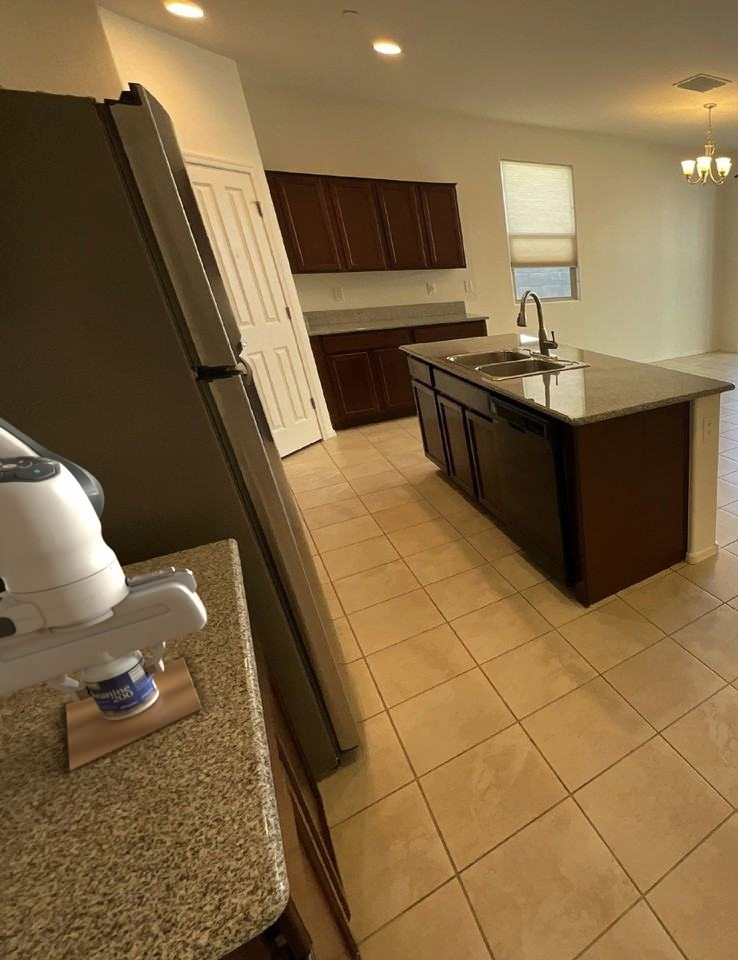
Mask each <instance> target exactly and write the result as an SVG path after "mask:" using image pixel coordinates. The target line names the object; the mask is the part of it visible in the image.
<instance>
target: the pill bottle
mask: <svg viewBox="0 0 738 960" xmlns="http://www.w3.org/2000/svg"><path fill="white" fill-rule="evenodd" d="M94 658H95V663H94V665H93V666H90V667H87V668H84V669H81V671H80V672H81V673H80V675H81V678H82V681H84V682H85V684H86V685H87V687H88V689H89V691H90V693H91V695H92V696H93V698H94V700H95V702H96V704H97V705H98V707H99V709H100V711H101V713H102V714H103V716H104V717H105V718H106V719H108V720H121V719H125V718H128V717H131V716H134V715H136V714H138V713H140V712H142V711H143V710H145V709H146V708H148V707H149V706H150V705H152V704H153V703H154V702H155V700H156V699H157V697H158V694H159V692H158V689H157V687H156V684H155V682H154V680H153V678H152V676H148V675H147V671H146V670H145V668H144V664H145V659H144V657H143V655H142V653H141V651H140V650H138V651H135V652H132V653H129V654H126V655H123V656H120V657H117V658H113V657H111V656H109V654H108V653H107V652H104V653H100V654H97V655H95V656H94Z"/></svg>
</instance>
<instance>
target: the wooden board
mask: <svg viewBox="0 0 738 960" xmlns="http://www.w3.org/2000/svg"><path fill="white" fill-rule="evenodd" d="M152 678H153V680H154V682H155V684H156V687H157V689H158V692H159V694H158V697H157V699H156V700H155V702H154V703H153V704H152V705H150V706H149V707H148V708H146V709H145V710H143V711H142V712H140V713H138V714H136V715H134V716H131V717H128V718H125V719H121V720H108V719H106V718H105V717H104V716H103V714H102V713H101V711H100V709H99V707H98V705H97V704H96V702H95V700H94V698H93V696H92V697H90V698H87V699H85V700H82V701H79V702H76V703H75V702H74V701H72V702H69V703H68V704H66V705H65V712H66V713H65V714H66V729H67V731H66V733H67V749H68V763H69V765H68V766H69V772H71V771H74V770H76V769H78V768H81V767H82V766H84V765H86V764H89V763H91V762H92V761H95V760H97V759H99V758H102V757H103V756H105V755H107V754H110V753H112V752H114V751H116V750H118V749H121V748H123V747H125V746H127V745H129V744H132V743H133V742H135V741H138V740H140V739H142V738H144V737H146V736H148V735H150V734H152V733H154V732H155V733H156V731H159V730H160V729H163V728H165V727H168V726H169V725H170V726H171V725H172V724H174V723H176V722H178V721H181V720H182V719H185V718H186V717H188V716H191V715H193V714H195V713H197V712H199V711H201V710H203V707H202V705H201V702H200V699H199V696H198V694H197V691H196V688H195V685H194V682H193V680H192V677H191V675H190V672H189V670H188V666H187V663H186V660H185V658H184V657H180V658H178V659H175V660H173V661H170V662H168V663H165V664H164V671H163V672H161V673H158V674H155V675H152Z"/></svg>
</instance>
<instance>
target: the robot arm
mask: <svg viewBox="0 0 738 960" xmlns="http://www.w3.org/2000/svg"><path fill="white" fill-rule="evenodd" d="M104 505H105V494H104V490H103V487H102V485H101V483H100V482H99V481H98V479H96V477H94V475H92V474H91V472H89V471H88V470H86V469H84V468H83V467H81V466H80V465H78V464H76V463H74V462H72V461H70V460H68V459H67V458H65V457H62V456H61V455H58V454H56V453H55V452H52V451H51V450H49V449H48V448H45V447H44V446H43V445H41V444H39V443H38V442H36V441H35V440H34V439H32V438H31V437H29V436H28V435H26V434H25V433H23V432H22V431H20V430H19V429H18V428H16V427H14V426H13V425H12V424H10V423H9V422H8V421H6V420H4V419H3V418H1V417H0V578H1V579H2V581H3V584H4V589H5V590H4V591H2V592H0V697H1V696H5V695H8V694H11V693H14V692H16V691H20V690H23V689H27V688H29V687H32V686H35V685H38V684H41V683H44V682H46V684H47V686H48V687H49V688H51V689H53V690H57V691H59V692H62V693H65V694H69V696H70V697H71V699H72V702H75V703H76V702H79V701H82V700H85V699H87V698H90V697H92V695H91V693H90V691H89V689H88V687H87V685H86V684H85V682H84V680H80V681H78V680H76V679H74V678H71V677H69V676H68V674H72V673H74V672H77V671H80V670H81V671H82V669H84V668H87V667H90V666H93V665H94V663H95V658H94V656H95V655H97V654H100V653H104V652H107V653H108V654H109V656H111V657H113V658H117V657H120V656H123V655H126V654H129V653H132V652H135V651H138V650H139V651H141V650H144V649H148V650H149V653H153V655H152V657H149V658H146V659H144V661H145V664H144V668H145V670H146V671H147V675H148V676H152V675H155V674H158V673H161V672H163V671H164V665H165V664H164V661H163V660H162V658H163V655H164V652H165V650H166V642H169V641H171V640H174V639H178V638H180V637H184V636H187V635H189V634H193V633H195V632H198V631H201V630H202V629H203V628H204V626H205V624H207V621H208V615H207V610H206V607H205V606H204V603H203V602H202V600H201V598H200V596H199V595H198V593H197V592H196V591H197V589H198V583H197V579H196V577H195V575H194V573H193V572H192V570H189V569H187V568H183V567H174V566H168V567H164V568H160V569H159V570H155V571H152V572H146V573H141V574H137V575H133V576H130V577H126V576H125V573H124V571H123V569H122V566H121V565H120V562H119V560H118V558H117V555H116V554H115V552H114V551H113V549H112V548H110V546H108V545H107V543H106V542H105V540H104V538H103V535H102V524H101V521H100V520H101V516H102V514H103V512H104V511H103V510H104Z"/></svg>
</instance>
